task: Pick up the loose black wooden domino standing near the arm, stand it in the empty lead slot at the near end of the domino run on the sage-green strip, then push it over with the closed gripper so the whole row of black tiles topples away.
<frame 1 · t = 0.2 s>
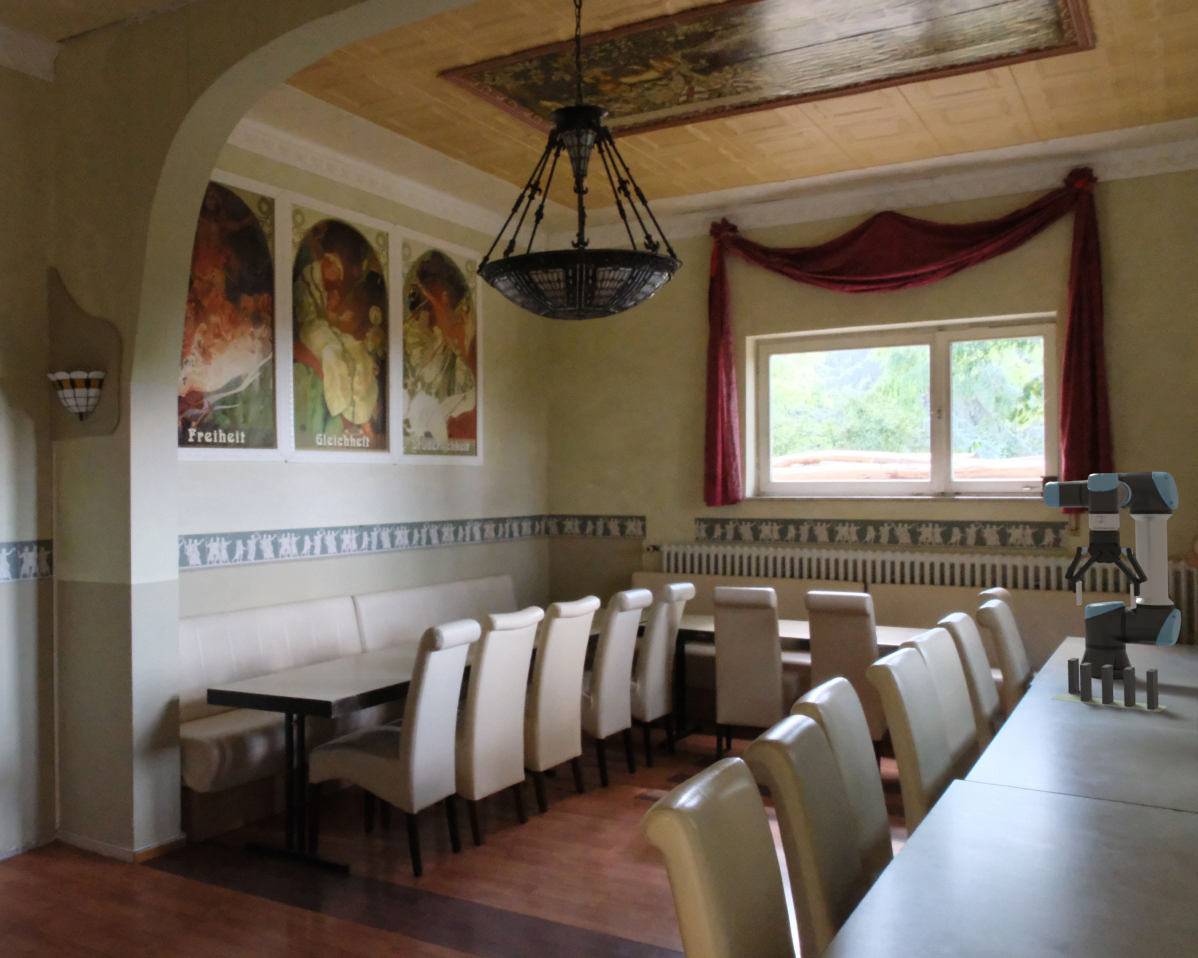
hand: (1106, 606, 267), 27 cm above the table, fingers open, 13 cm apart
domino 4: (1130, 704, 264), point 1 cm above the table, touching strip
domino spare: (1074, 693, 283), on the table
domino 5: (1152, 707, 260), point 1 cm above the table, touching strip
domino 3: (1107, 702, 268), point 1 cm above the table, touching strip
strip: (1107, 704, 268), on the table
domino 2: (1086, 699, 271), point 1 cm above the table, touching strip
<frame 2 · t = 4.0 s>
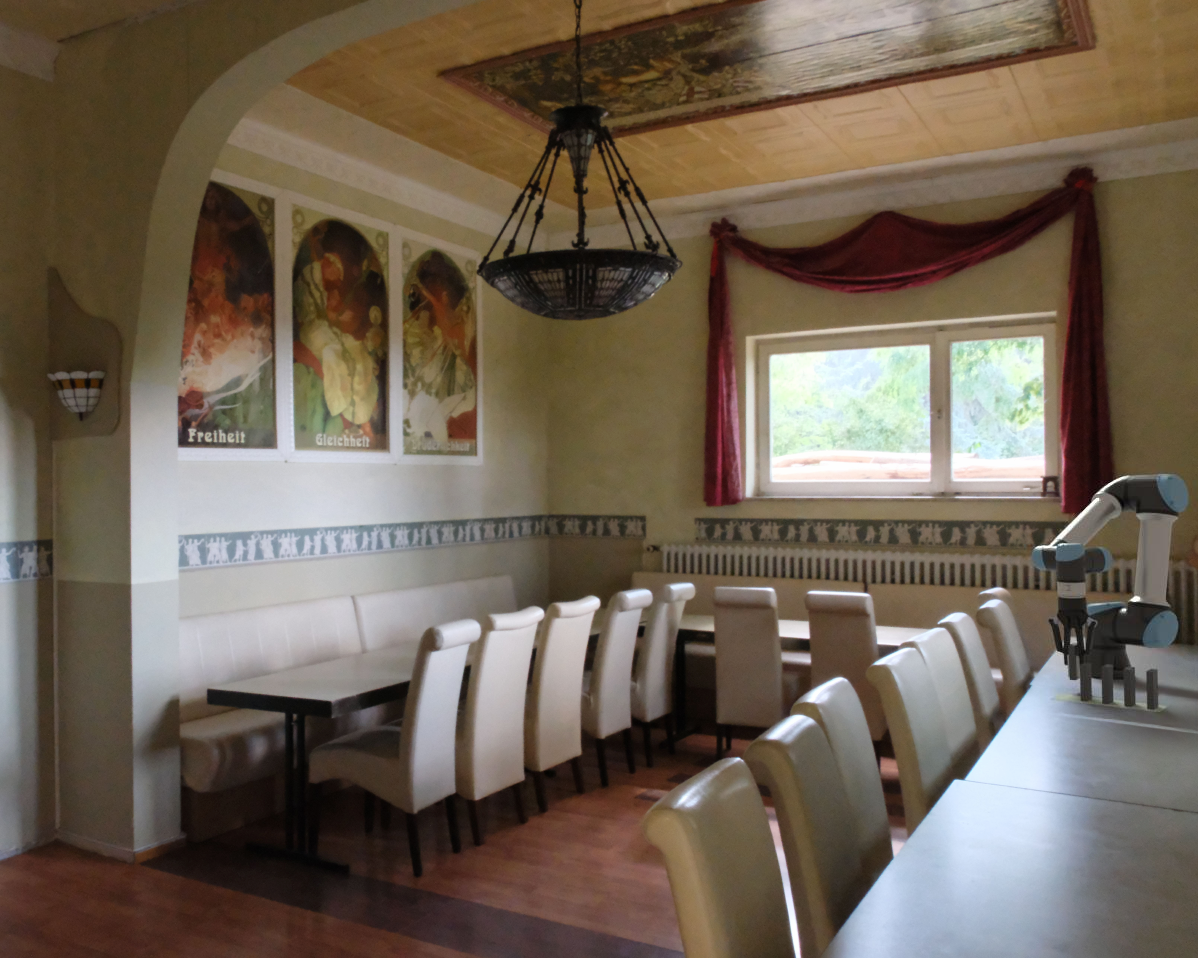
hand: (1075, 676, 283), 5 cm above the table, fingers closed on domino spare, 2 cm apart
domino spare: (1075, 678, 283), point 4 cm above the table, touching gripper
everything else where it was.
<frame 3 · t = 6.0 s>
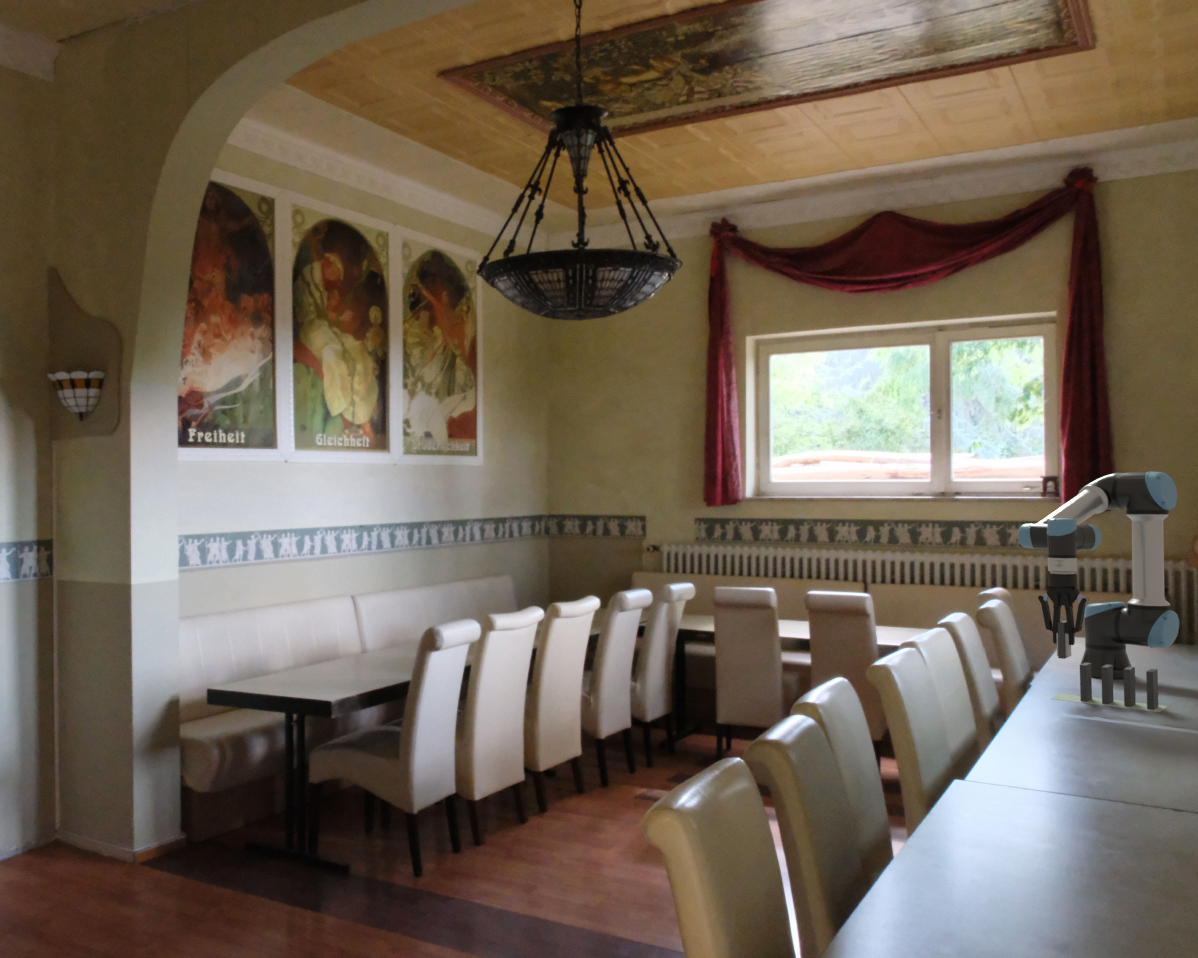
hand: (1064, 655, 275), 12 cm above the table, fingers closed on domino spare, 2 cm apart
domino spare: (1063, 657, 275), point 12 cm above the table, touching gripper
everything else where it was.
when the fingers open (1 cm above the table, at t = 8.1 s): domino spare stays where it is, resting on strip.
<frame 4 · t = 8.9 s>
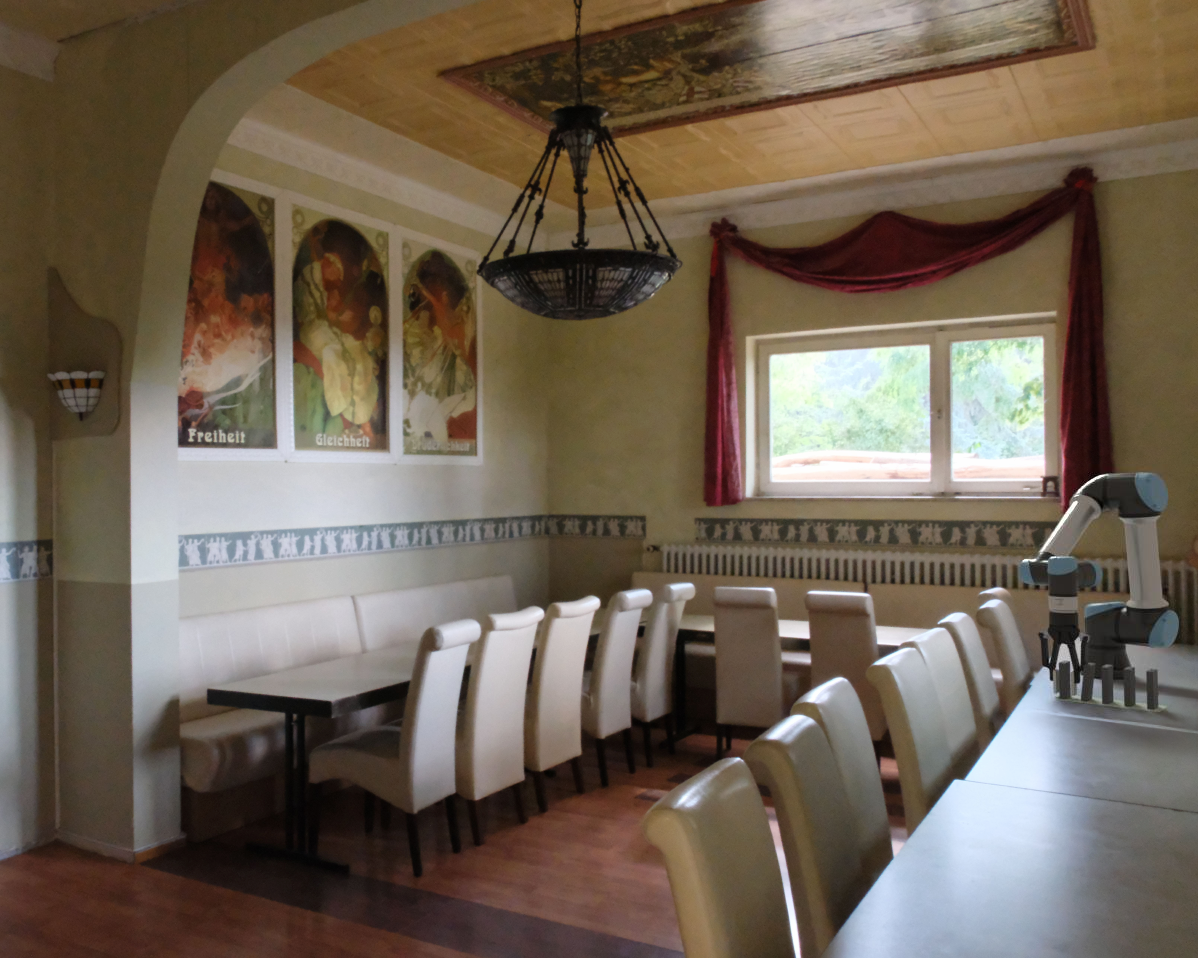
hand: (1065, 693, 275), 2 cm above the table, fingers open, 4 cm apart
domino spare: (1065, 697, 275), point 1 cm above the table, touching strip
domino 2: (1086, 699, 271), point 1 cm above the table, tilted 6°, touching gripper, strip
everything else where it was.
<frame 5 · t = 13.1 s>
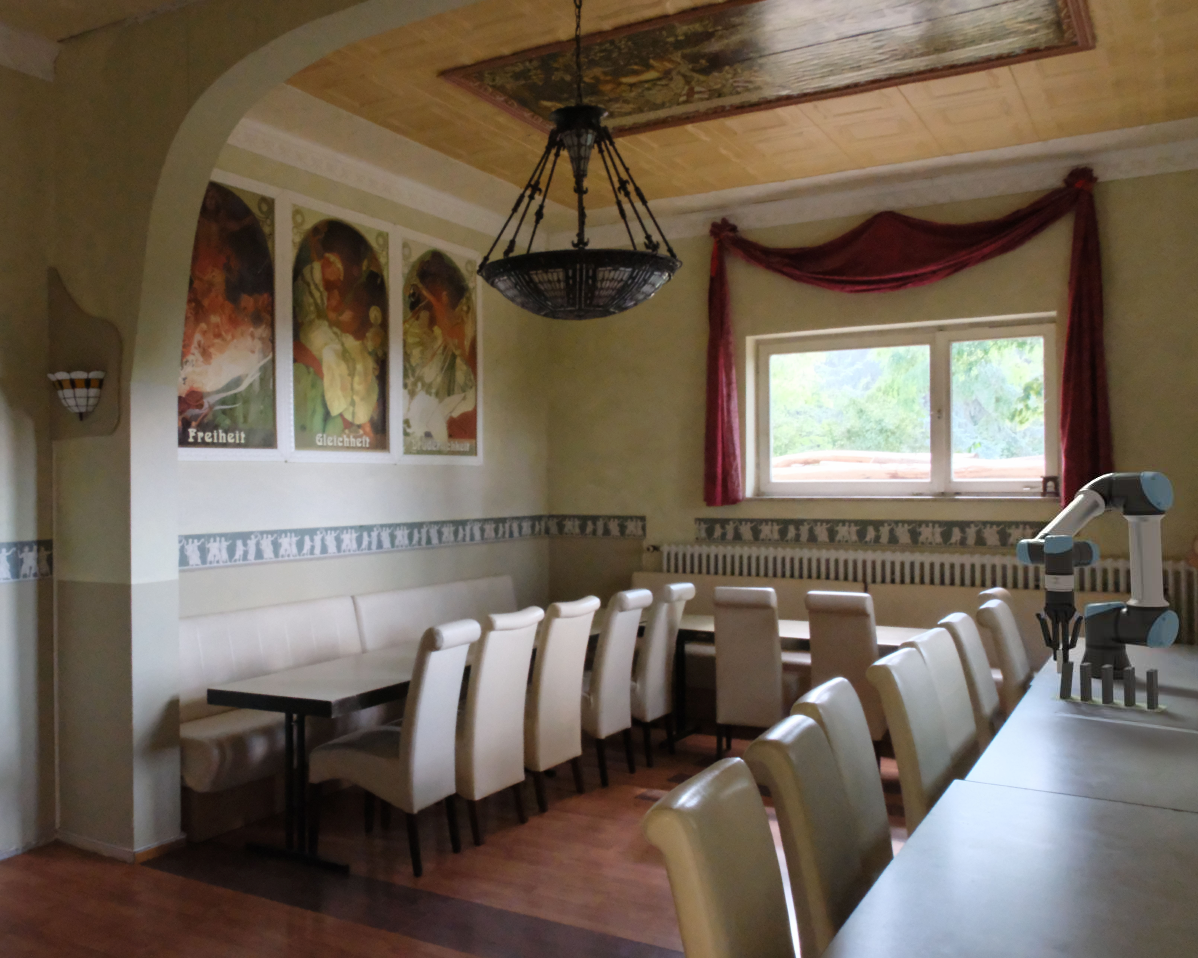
hand: (1061, 672, 276), 7 cm above the table, fingers closed
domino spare: (1065, 697, 275), point 1 cm above the table, tilted 6°, touching strip
domino 2: (1086, 699, 271), point 1 cm above the table, touching strip
everything else where it was.
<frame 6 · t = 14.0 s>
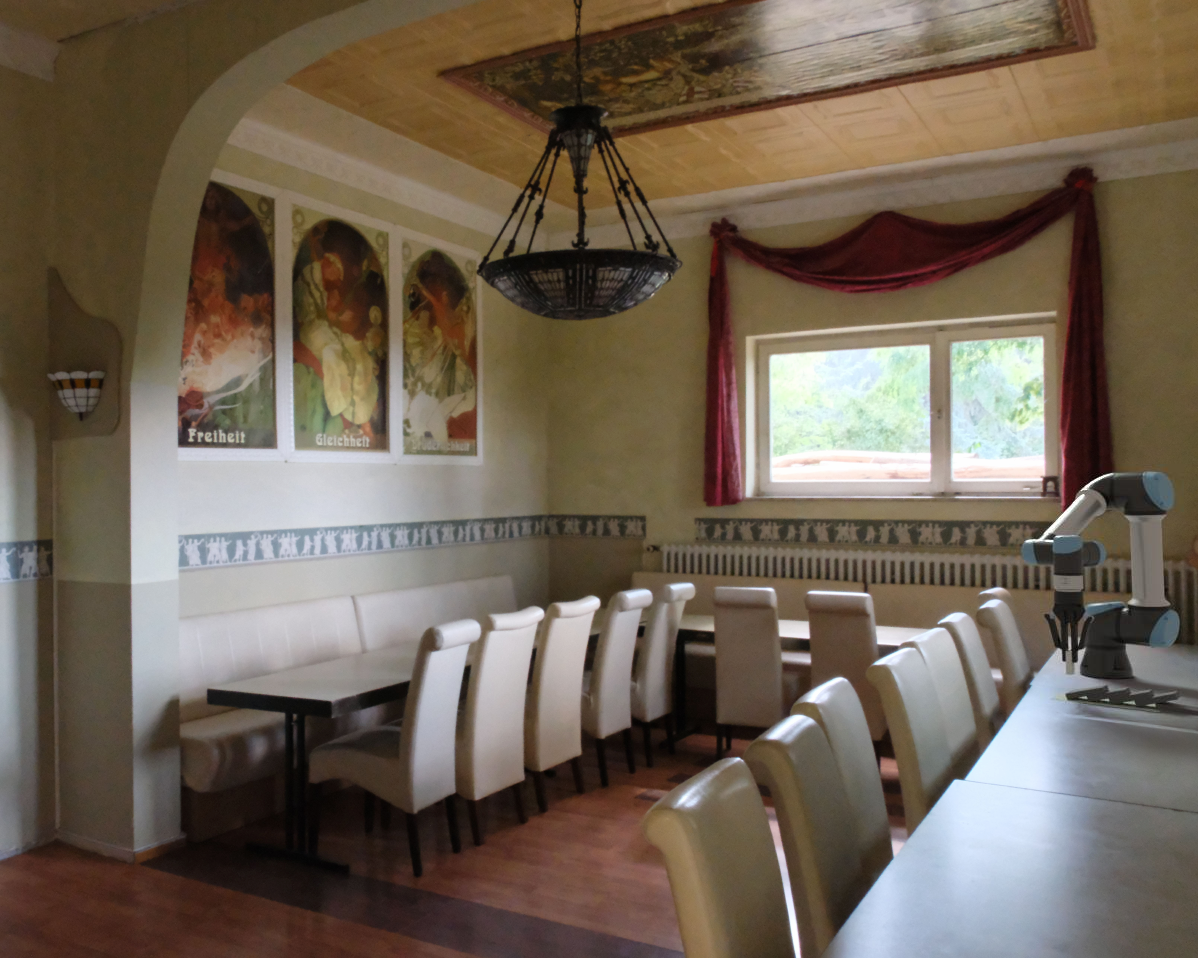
hand: (1070, 673, 274), 7 cm above the table, fingers closed
domino 4: (1137, 702, 263), point 2 cm above the table, tilted 72°, touching domino 3, domino 5
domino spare: (1068, 695, 274), point 1 cm above the table, tilted 73°, touching domino 2, strip
domino 5: (1157, 704, 260), point 1 cm above the table, tilted 94°, touching domino 4, strip
domino 3: (1111, 699, 267), point 1 cm above the table, tilted 73°, touching domino 2, domino 4, strip
domino 2: (1089, 697, 271), point 1 cm above the table, tilted 73°, touching domino 3, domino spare, strip
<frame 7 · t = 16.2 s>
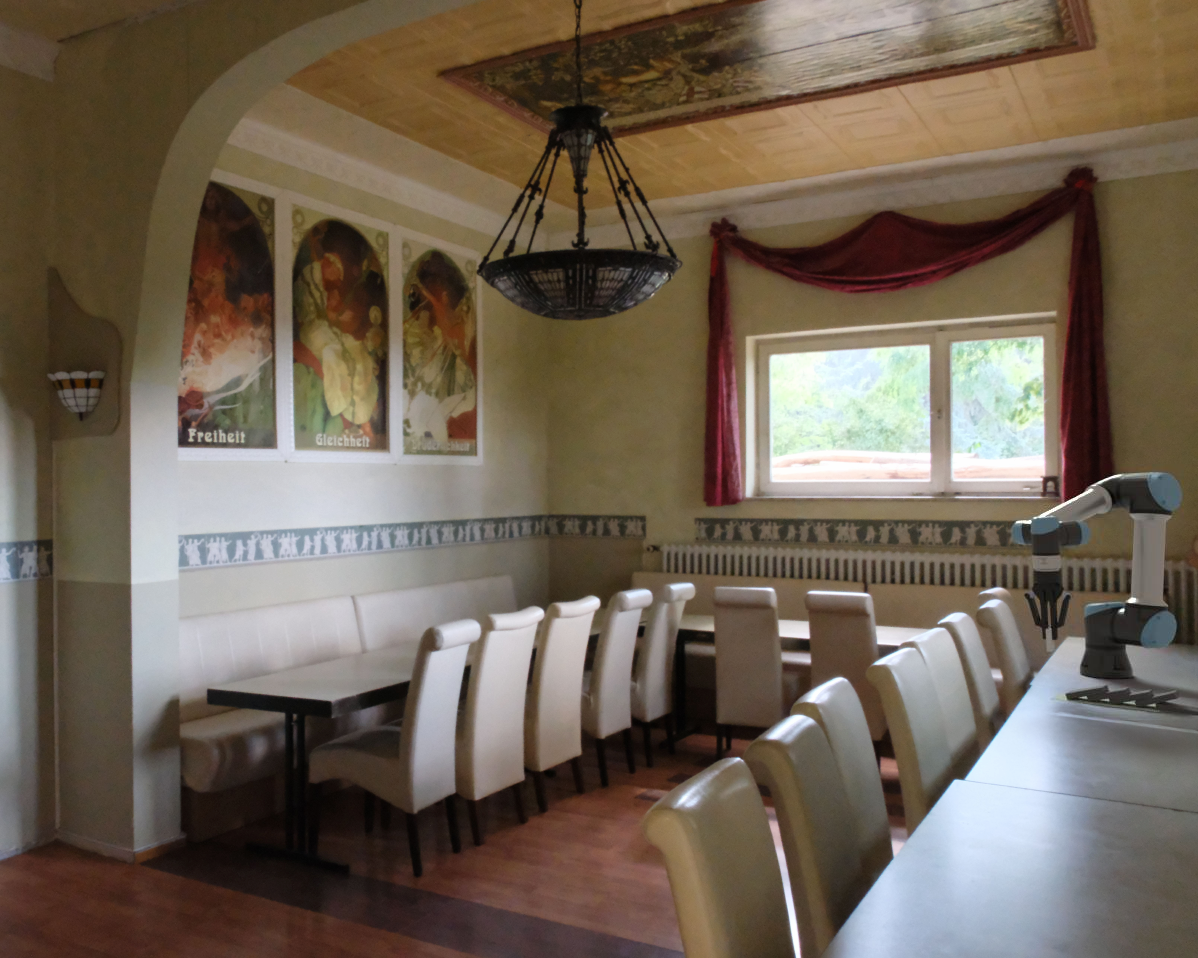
hand: (1050, 650, 282), 13 cm above the table, fingers closed
domino 4: (1137, 702, 263), point 1 cm above the table, tilted 70°, touching domino 3, domino 5, strip
domino 5: (1157, 704, 260), point 2 cm above the table, tilted 95°, touching domino 4, strip
everything else where it was.
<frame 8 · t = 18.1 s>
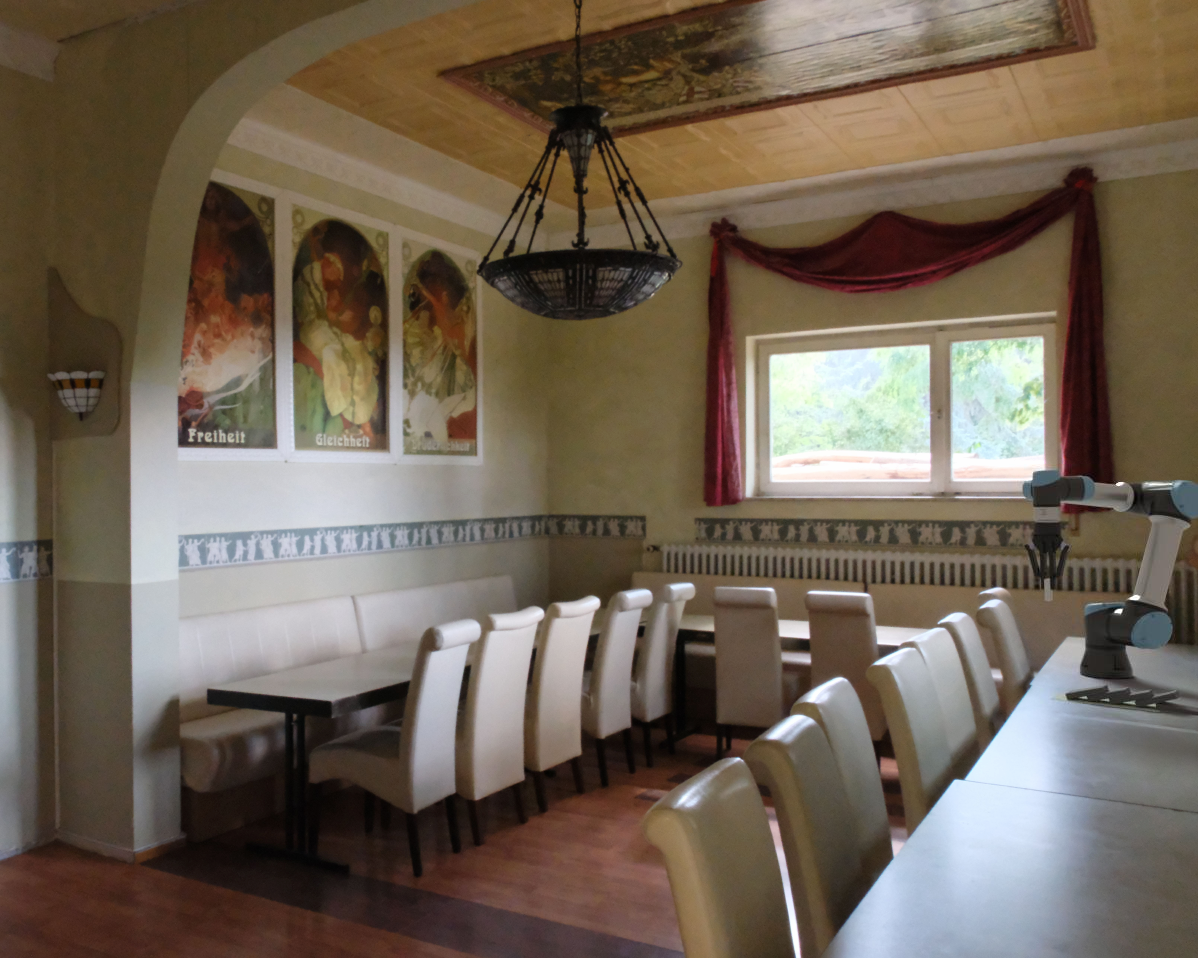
hand: (1048, 600, 289), 26 cm above the table, fingers closed
nothing on the table moved.
at the end: domino 5 tilted 95°; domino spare tilted 73°; the gripper is holding nothing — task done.
